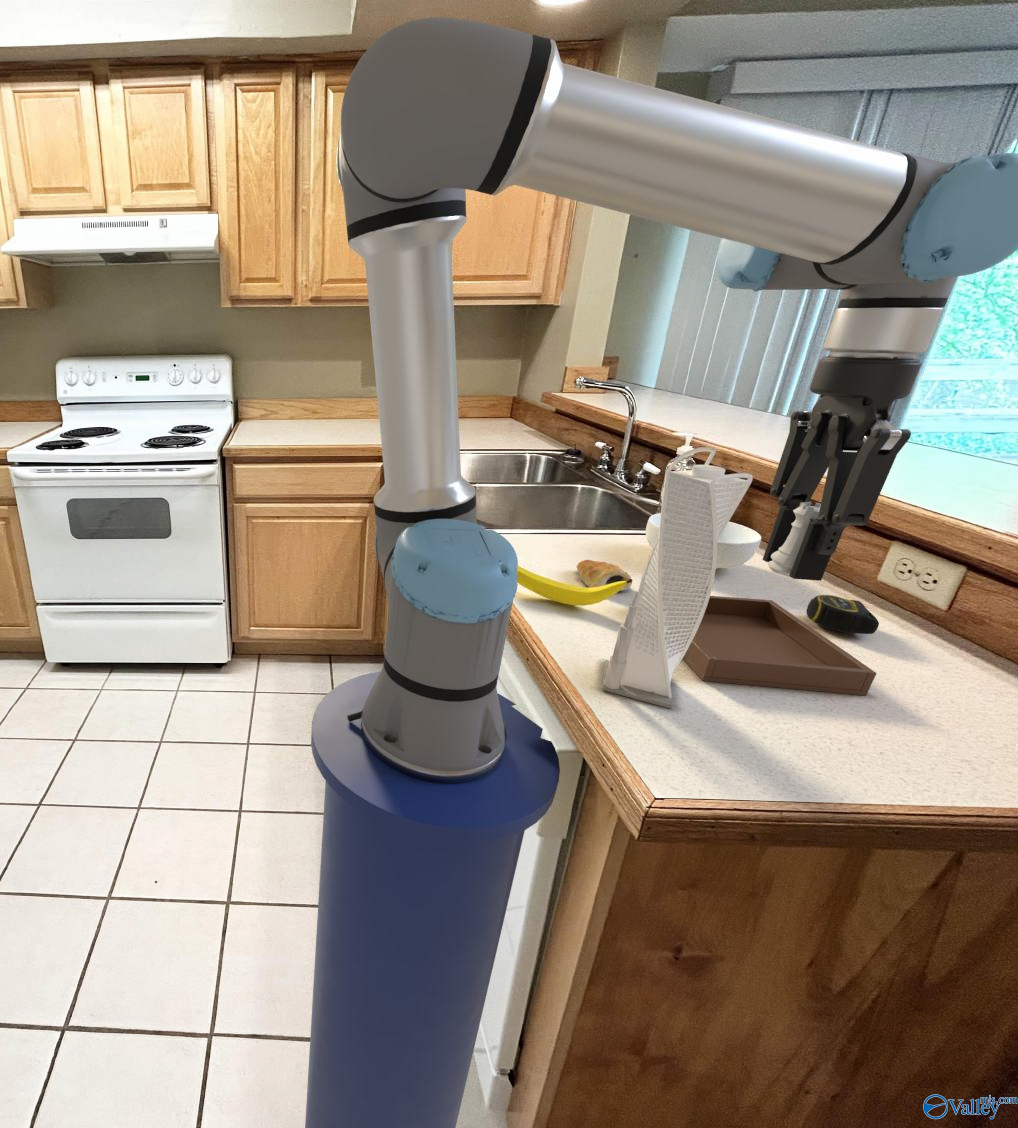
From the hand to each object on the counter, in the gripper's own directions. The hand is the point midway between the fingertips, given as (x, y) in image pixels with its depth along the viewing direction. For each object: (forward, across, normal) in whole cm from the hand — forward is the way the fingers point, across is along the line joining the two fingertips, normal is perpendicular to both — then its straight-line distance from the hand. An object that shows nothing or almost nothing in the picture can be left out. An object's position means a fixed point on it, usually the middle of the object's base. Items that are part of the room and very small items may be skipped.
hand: (790, 569), depth 68 cm
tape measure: (+14, +16, -20) cm, 29 cm away
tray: (+14, +7, -2) cm, 16 cm away
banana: (+14, +17, +19) cm, 29 cm away
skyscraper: (+14, -5, +14) cm, 21 cm away
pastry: (+14, +26, +9) cm, 31 cm away
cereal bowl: (+14, +39, -11) cm, 43 cm away
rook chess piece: (0, 0, 0) cm, 0 cm away
